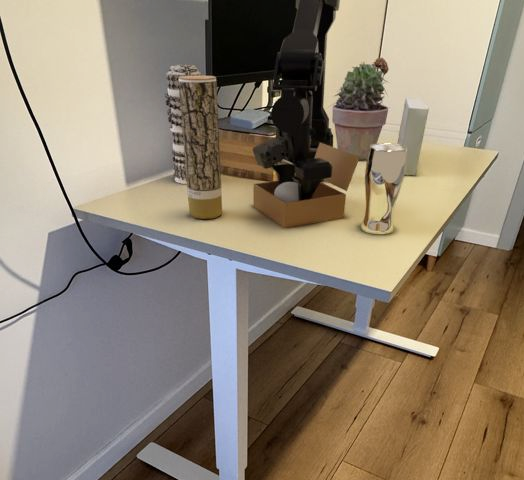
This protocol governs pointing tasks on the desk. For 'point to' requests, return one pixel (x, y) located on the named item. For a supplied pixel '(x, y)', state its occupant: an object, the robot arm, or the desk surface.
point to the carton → (299, 205)
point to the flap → (338, 165)
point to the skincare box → (413, 131)
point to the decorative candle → (177, 116)
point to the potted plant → (360, 109)
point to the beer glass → (382, 185)
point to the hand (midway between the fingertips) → (293, 204)
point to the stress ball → (287, 192)
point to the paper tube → (201, 144)
